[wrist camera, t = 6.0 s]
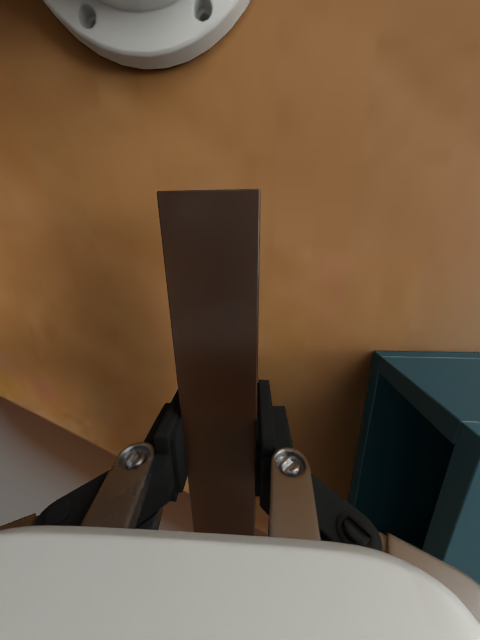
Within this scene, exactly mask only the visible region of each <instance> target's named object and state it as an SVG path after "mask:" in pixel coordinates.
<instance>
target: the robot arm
mask: <svg viewBox="0 0 480 640" xmlns="http://www.w3.org/2000/svg"><path fill="white" fill-rule="evenodd" d="M43 1H44V2H45V3H46V5H47V6H48V7H49V8H50V10H51V11H52V12H53V13H54V15H55V16H56V17H57V18H58V20H59V21H60V22H61V23H62V24H63V25H64V26H65V27H66V28H67V29H68V30H69V31H70V32H71V33H72V34H73V35H74V36H75V37H76V38H77V39H78V40H79V41H80V42H82V43H83V44H84V45H86V46H87V47H89V48H90V49H91V50H93V51H94V52H96V53H97V54H98V55H100V56H102V57H105V58H107V59H109V60H111V61H114V62H116V63H118V64H120V65H124V66H129V67H134V68H139V69H161V68H169V67H172V66H175V65H179V64H182V63H185V62H188V61H190V60H192V59H194V58H195V57H197V56H199V55H200V54H202V53H204V52H205V51H207V50H209V49H210V48H211V47H212V46H214V45H215V44H216V43H217V42H218V41H219V40H220V39H221V38H222V37H223V36H224V35H226V34H227V33H228V32H229V31H230V29H231V28H232V27H233V25H234V24H235V23H236V21H237V20H238V19H239V17H240V16H241V15H242V13H243V12H244V11H245V9H246V8H247V6H248V4H249V2H250V1H251V0H43ZM187 475H188V470H187V461H186V451H185V442H184V433H183V423H182V418H181V410H180V401H179V392H178V390H177V392H176V394H175V396H174V398H173V400H172V402H171V403H166V404H165V405H164V406H163V408H162V410H161V411H160V413H159V415H158V417H157V419H156V420H155V422H154V424H153V426H152V428H151V429H150V431H149V433H148V435H147V437H146V438H145V440H144V442H138V443H134V444H131V445H129V446H128V447H126V448H124V449H123V450H122V451H121V452H120V453H119V455H118V456H117V457H116V459H115V461H114V463H113V465H112V467H111V469H110V470H109V471H107V472H105V473H104V474H102V475H100V476H98V477H97V478H95V479H93V480H91V481H89V482H88V483H86V484H84V485H82V486H81V487H79V488H77V489H76V490H74V491H72V492H70V493H69V494H67V495H65V496H63V497H61V498H60V499H58V500H56V501H55V502H53V503H52V504H51V505H49V506H48V507H47V508H46V509H45V510H44V511H43V512H42V513H41V514H40V515H39V516H36V514H35V513H34V514H32V515H29V516H26V517H24V518H21V519H18V520H16V521H13V522H11V523H8V524H5V525H2V526H0V640H480V586H479V585H478V584H477V583H476V582H475V581H474V580H473V579H472V578H471V577H469V576H468V575H466V574H465V573H463V572H462V571H460V570H459V569H457V568H455V567H453V566H451V565H449V564H447V563H445V562H443V561H442V560H440V559H438V558H436V557H434V556H432V555H430V554H428V553H426V552H424V551H422V550H420V549H419V548H417V547H415V546H413V545H411V544H409V543H407V542H405V541H403V540H401V539H399V538H397V537H396V536H394V535H392V534H390V533H388V534H387V536H386V535H384V534H382V533H380V532H379V531H378V530H377V529H376V527H375V526H374V525H373V523H372V522H371V521H370V520H369V519H368V518H367V517H366V516H365V515H363V514H362V513H361V512H360V511H358V510H357V509H356V508H355V507H353V506H352V505H351V504H350V503H348V502H347V501H346V500H344V499H343V498H342V497H341V496H339V495H338V494H337V493H336V492H334V491H333V490H332V489H330V488H329V487H328V486H327V485H325V484H324V483H323V482H322V481H320V480H319V479H318V478H316V477H315V476H314V475H313V474H311V471H310V465H309V462H308V460H307V458H306V457H305V455H304V454H302V453H301V452H300V451H298V450H296V449H294V448H293V445H292V440H291V435H290V430H289V425H288V420H287V415H286V410H285V407H284V406H272V402H271V393H270V385H269V380H259V383H257V420H256V421H255V496H260V506H261V508H262V509H263V510H264V511H265V512H266V513H267V514H268V515H269V525H268V537H263V536H248V535H232V534H216V533H199V532H180V531H164V530H158V528H159V524H160V520H161V515H162V512H163V506H164V505H166V504H167V503H168V502H169V501H176V500H177V496H178V493H179V492H182V491H183V489H184V486H185V482H186V479H187Z"/></svg>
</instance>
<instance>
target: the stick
mask: <svg viewBox="0 0 480 640" xmlns="http://www.w3.org/2000/svg"><path fill="white" fill-rule="evenodd" d="M157 199H158V208H159V218H160V227H161V236H162V245H163V254H164V263H165V273H166V282H167V291H168V300H169V309H170V318H171V327H172V337H173V346H174V355H175V364H176V373H177V382H178V392H179V401H180V410H181V418H182V423H183V433H184V442H185V451H186V461H187V470H188V483H189V492H190V501H191V510H192V519H193V529H194V532H199V533H216V534H232V535H248V536H255V504H256V496H255V421H256V420H257V379H258V316H259V254H260V189H229V190H186V191H158V192H157Z"/></svg>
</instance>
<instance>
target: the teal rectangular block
mask: <svg viewBox="0 0 480 640" xmlns="http://www.w3.org/2000/svg"><path fill="white" fill-rule="evenodd" d="M348 503H350V504H351V505H352V506H353V507H355V508H356V509H357V510H358V511H360V512H361V513H362V514H363V515H365V516H366V517H367V518H368V519H369V520H370V521H371V522H372V523H373V525H374V526H375V527H376V529H377V530H378V531H379V532H380V533H382V534H384V535H386V536H387V534H388V533H390V534H392V535H394V536H396V537H397V538H399V539H401V540H403V541H405V542H407V543H409V544H411V545H413V546H415V547H417V548H419V549H420V550H422V551H424V552H426V553H428V554H430V555H432V556H434V557H436V558H438V559H440V560H442V561H443V562H445V563H447V564H449V565H451V566H453V567H455V568H457V569H459V570H460V571H462V572H463V573H465V574H466V575H468V576H469V577H471V578H472V579H473V580H474V581H475V582H476V583H477V584H478V585H479V586H480V353H475V352H416V351H374V353H373V359H372V365H371V371H370V377H369V382H368V388H367V394H366V400H365V406H364V412H363V418H362V424H361V430H360V436H359V441H358V447H357V453H356V459H355V465H354V471H353V477H352V483H351V489H350V495H349V501H348Z"/></svg>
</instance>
